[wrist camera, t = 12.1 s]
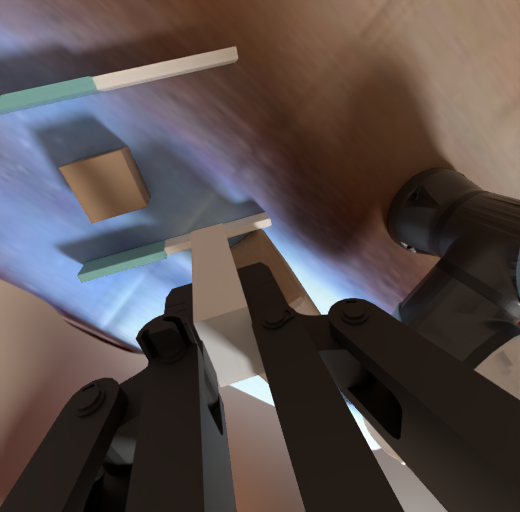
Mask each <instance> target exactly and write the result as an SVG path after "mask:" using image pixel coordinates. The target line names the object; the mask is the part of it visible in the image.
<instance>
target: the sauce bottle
mask: <svg viewBox="0 0 520 512" xmlns="http://www.w3.org/2000/svg"><path fill="white" fill-rule="evenodd" d="M362 416H363V415H362ZM363 420H364V423H365V425H366V427H367V429H368V431H369V433H370V434H371V436H372V437H373V439H374V440H375V441H376V442H377V443H378V444H379V446H380V447H381V448H382V449H383V450H385V451H386V452H387V453H388V454H389V455H390V456H392V457H394V458H395V459H397V460H399V461H400V463H401V464H403V465H406V464H405V463H404V462H403V460H402V459H401V458H400V457H399V456H398V455H397V454H396V453H395V451H394V450H393V449H392V448H391V447H390V446H389V445H388V444H387V442H386V441H385V440H384V439H383V438H382V437H381V436H380V435H379V433H378V432H377V431H376V430H375V429H374V428H373V427H372V426H371V424H370V423H369V422H368V421H367V420H366V419H365V418H364V417H363ZM410 470H411V469H410ZM412 473H413V472H412ZM413 474H414V473H413ZM414 475H415V474H414Z"/></svg>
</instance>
